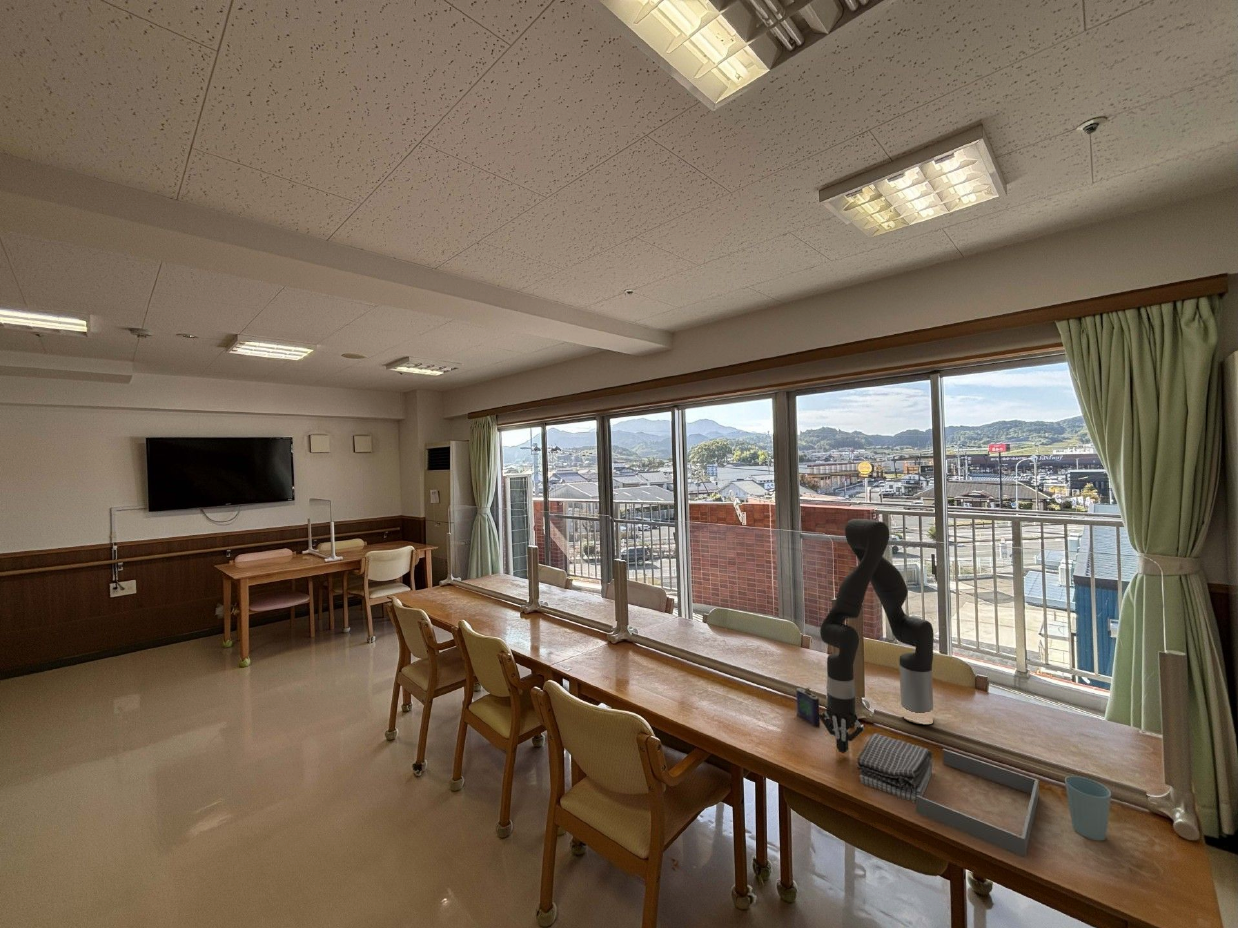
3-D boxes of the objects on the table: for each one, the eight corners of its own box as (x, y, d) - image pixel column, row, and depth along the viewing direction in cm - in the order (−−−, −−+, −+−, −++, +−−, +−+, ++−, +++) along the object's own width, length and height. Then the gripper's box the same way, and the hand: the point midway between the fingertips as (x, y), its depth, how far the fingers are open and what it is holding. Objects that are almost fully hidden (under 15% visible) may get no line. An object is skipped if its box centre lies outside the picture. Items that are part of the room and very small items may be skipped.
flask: (795, 714, 169) (794, 683, 169) (801, 712, 170) (800, 681, 170) (815, 727, 161) (815, 694, 161) (822, 725, 162) (821, 692, 162)
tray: (943, 762, 140) (943, 748, 140) (1038, 795, 126) (1038, 779, 126) (916, 812, 121) (915, 795, 121) (1025, 857, 106) (1024, 839, 106)
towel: (934, 772, 136) (933, 744, 136) (919, 808, 123) (918, 776, 123) (874, 752, 147) (873, 725, 147) (854, 783, 133) (853, 753, 133)
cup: (1070, 814, 119) (1069, 771, 119) (1115, 833, 112) (1114, 787, 112) (1062, 829, 114) (1061, 784, 114) (1108, 849, 108) (1107, 802, 108)
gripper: (869, 694, 143) (871, 754, 143) (823, 681, 152) (825, 737, 152) (860, 703, 138) (861, 766, 138) (813, 689, 147) (814, 748, 147)
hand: (842, 751), depth 145 cm, fingers closed
